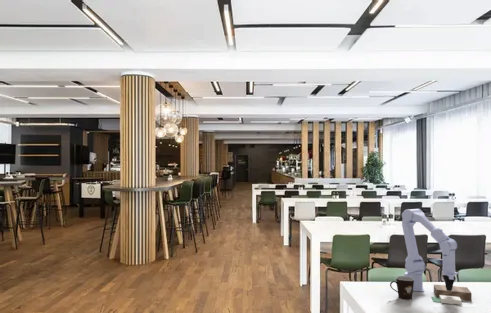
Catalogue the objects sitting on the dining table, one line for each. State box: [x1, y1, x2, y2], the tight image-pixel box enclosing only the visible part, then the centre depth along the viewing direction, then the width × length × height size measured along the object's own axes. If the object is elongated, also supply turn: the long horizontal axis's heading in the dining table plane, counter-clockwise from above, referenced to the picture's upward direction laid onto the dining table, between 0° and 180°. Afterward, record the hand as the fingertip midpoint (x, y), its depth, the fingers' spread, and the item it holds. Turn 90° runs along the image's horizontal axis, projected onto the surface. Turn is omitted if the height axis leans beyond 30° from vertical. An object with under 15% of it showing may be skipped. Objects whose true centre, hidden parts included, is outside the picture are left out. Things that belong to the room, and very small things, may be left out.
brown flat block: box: [433, 283, 473, 302], centre depth 203 cm, size 16×10×4 cm, turn 71°
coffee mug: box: [389, 275, 414, 301], centre depth 200 cm, size 12×9×10 cm
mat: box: [430, 296, 441, 304], centre depth 195 cm, size 11×8×1 cm
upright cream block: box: [439, 295, 463, 306], centre depth 193 cm, size 9×6×2 cm, turn 71°
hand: (449, 290), depth 197 cm, fingers closed
